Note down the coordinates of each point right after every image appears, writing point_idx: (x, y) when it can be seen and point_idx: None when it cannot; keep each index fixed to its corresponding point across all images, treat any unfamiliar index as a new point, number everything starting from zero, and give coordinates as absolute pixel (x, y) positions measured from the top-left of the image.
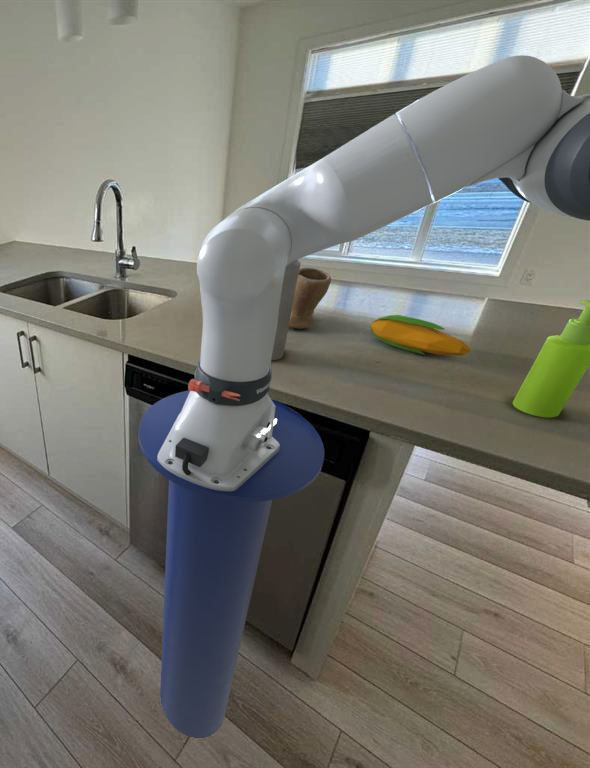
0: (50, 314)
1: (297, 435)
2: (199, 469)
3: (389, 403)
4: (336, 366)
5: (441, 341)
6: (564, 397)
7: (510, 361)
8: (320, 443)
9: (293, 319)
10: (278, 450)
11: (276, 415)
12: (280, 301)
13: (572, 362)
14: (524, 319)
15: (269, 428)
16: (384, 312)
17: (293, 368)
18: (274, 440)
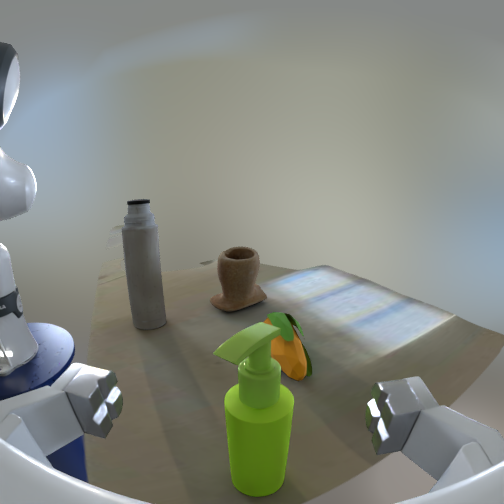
0: (110, 260)
1: (27, 378)
2: None
3: (125, 401)
4: (172, 352)
5: (281, 356)
6: (249, 478)
7: (365, 401)
8: (24, 389)
9: (221, 299)
10: (2, 375)
11: (49, 362)
12: (129, 265)
13: (232, 431)
14: (459, 342)
15: (2, 355)
16: (343, 313)
17: (137, 340)
18: (7, 368)
